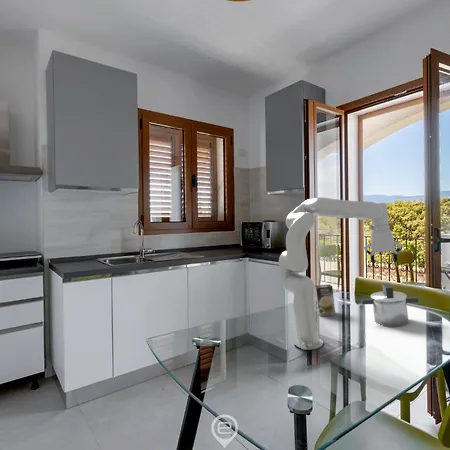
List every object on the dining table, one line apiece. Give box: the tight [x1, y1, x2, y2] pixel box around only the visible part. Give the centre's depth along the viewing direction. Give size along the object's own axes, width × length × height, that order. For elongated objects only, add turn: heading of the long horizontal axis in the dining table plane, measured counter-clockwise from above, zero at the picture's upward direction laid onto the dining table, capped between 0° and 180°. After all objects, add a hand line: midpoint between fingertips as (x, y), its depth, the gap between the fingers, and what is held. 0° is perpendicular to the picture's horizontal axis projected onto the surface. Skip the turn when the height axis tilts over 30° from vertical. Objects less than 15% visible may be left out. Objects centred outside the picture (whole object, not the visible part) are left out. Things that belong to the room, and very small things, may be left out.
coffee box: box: [314, 284, 336, 317], centre depth 185 cm, size 9×6×16 cm
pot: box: [361, 296, 419, 328], centre depth 161 cm, size 25×15×12 cm, turn 73°
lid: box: [370, 282, 408, 302], centre depth 161 cm, size 16×16×6 cm
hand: (384, 262), depth 160 cm, fingers open, 9 cm apart
